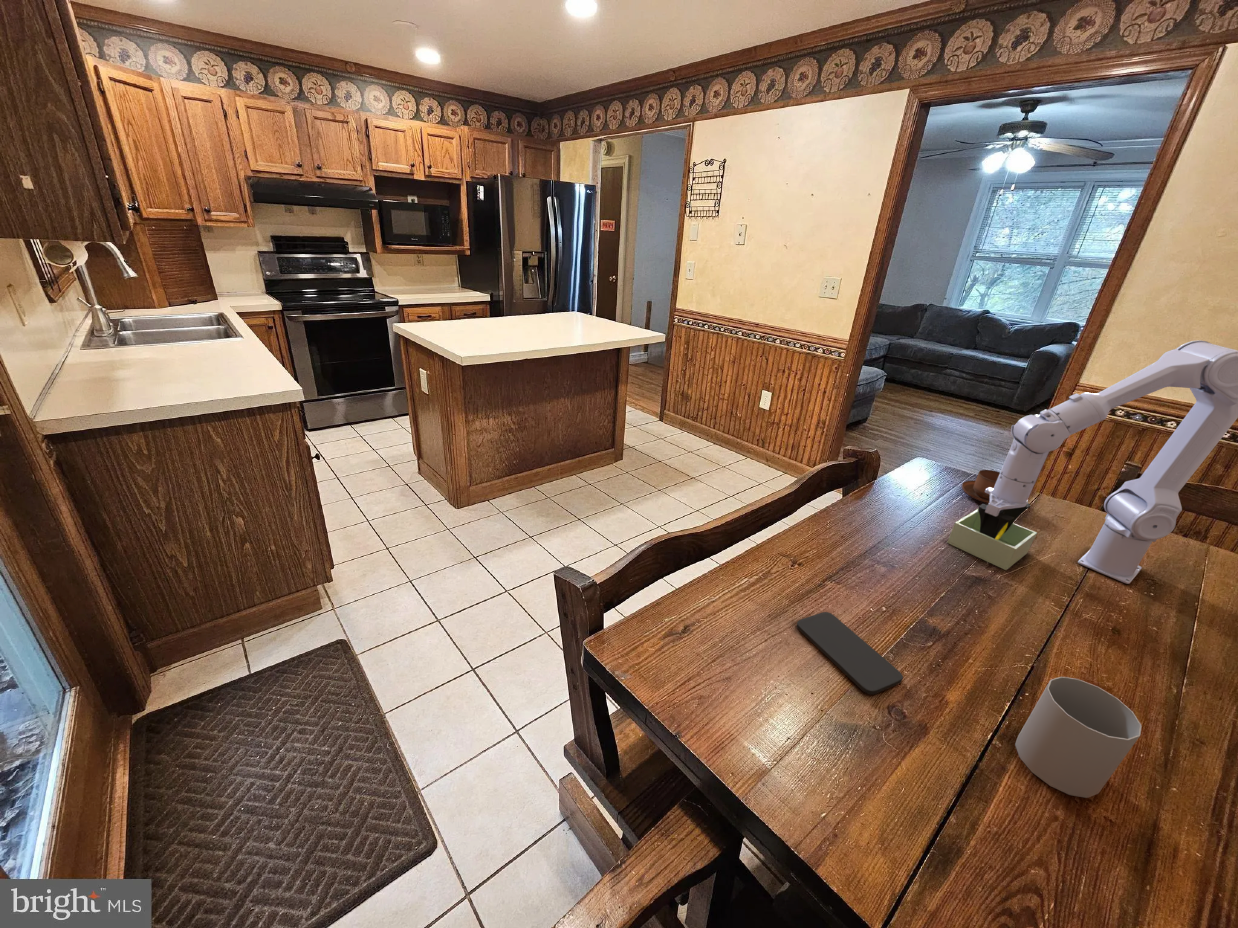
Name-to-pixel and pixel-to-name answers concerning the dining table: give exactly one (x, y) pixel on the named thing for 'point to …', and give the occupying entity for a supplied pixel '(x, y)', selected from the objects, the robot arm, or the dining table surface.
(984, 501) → the cup and saucer
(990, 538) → the bin
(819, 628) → the phone
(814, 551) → the dining table surface
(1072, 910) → the dining table surface
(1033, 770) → the cup
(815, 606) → the dining table surface
